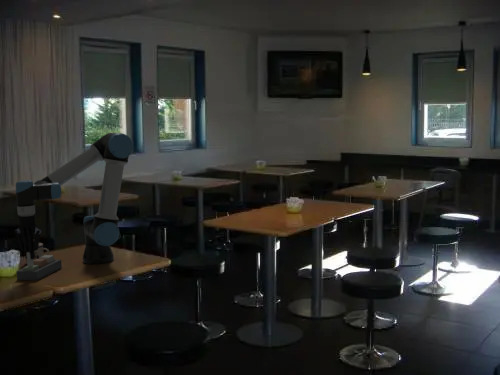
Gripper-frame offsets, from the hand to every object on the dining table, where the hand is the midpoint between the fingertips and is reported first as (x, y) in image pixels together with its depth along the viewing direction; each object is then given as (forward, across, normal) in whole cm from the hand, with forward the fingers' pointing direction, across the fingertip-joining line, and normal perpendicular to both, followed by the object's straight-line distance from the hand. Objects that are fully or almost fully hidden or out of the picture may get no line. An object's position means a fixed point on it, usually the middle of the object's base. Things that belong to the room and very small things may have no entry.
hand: (30, 265), depth 288 cm
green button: (+4, 0, 0) cm, 4 cm away
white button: (+3, 0, +14) cm, 14 cm away
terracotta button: (+3, 0, +7) cm, 8 cm away
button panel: (+6, 0, +7) cm, 9 cm away
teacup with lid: (+6, -13, +27) cm, 31 cm away
